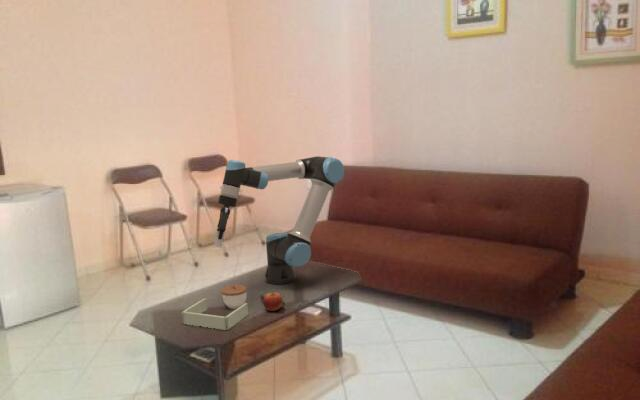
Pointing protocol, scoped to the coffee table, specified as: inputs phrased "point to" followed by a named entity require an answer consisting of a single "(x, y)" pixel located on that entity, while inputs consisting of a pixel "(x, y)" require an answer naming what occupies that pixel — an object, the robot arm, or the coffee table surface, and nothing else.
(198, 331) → the coffee table surface
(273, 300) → the apple
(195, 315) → the bin
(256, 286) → the coffee table surface
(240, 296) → the lidded jar
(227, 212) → the robot arm
